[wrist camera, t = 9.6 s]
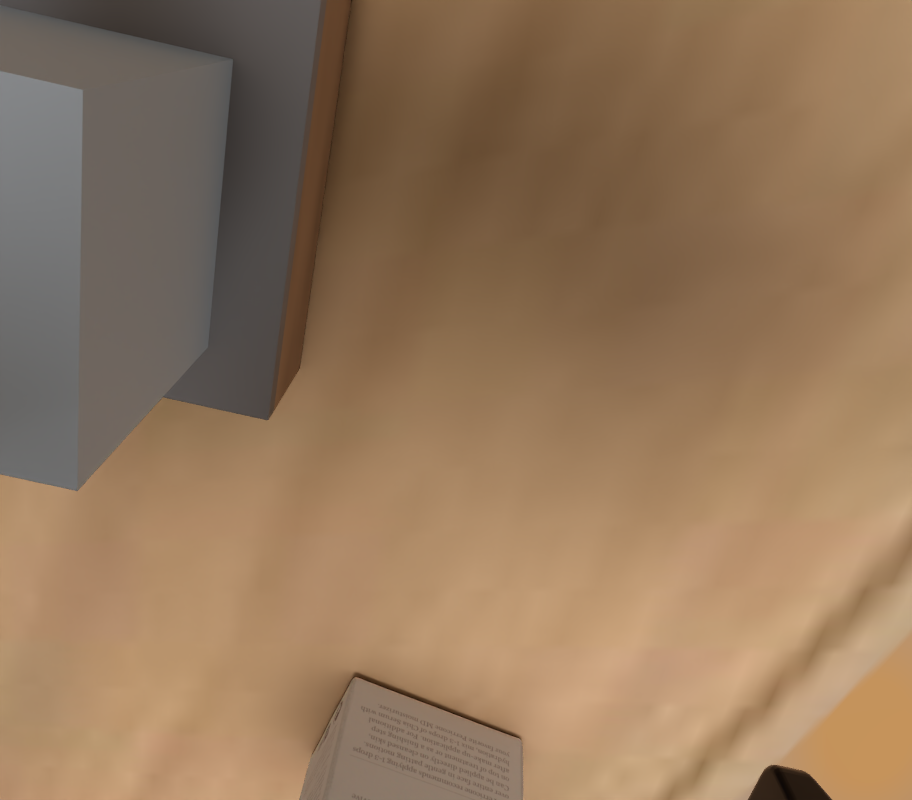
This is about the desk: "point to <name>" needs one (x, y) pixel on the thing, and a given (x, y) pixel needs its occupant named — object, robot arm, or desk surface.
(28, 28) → the cube
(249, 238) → the base
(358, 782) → the skincare box
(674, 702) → the desk surface
